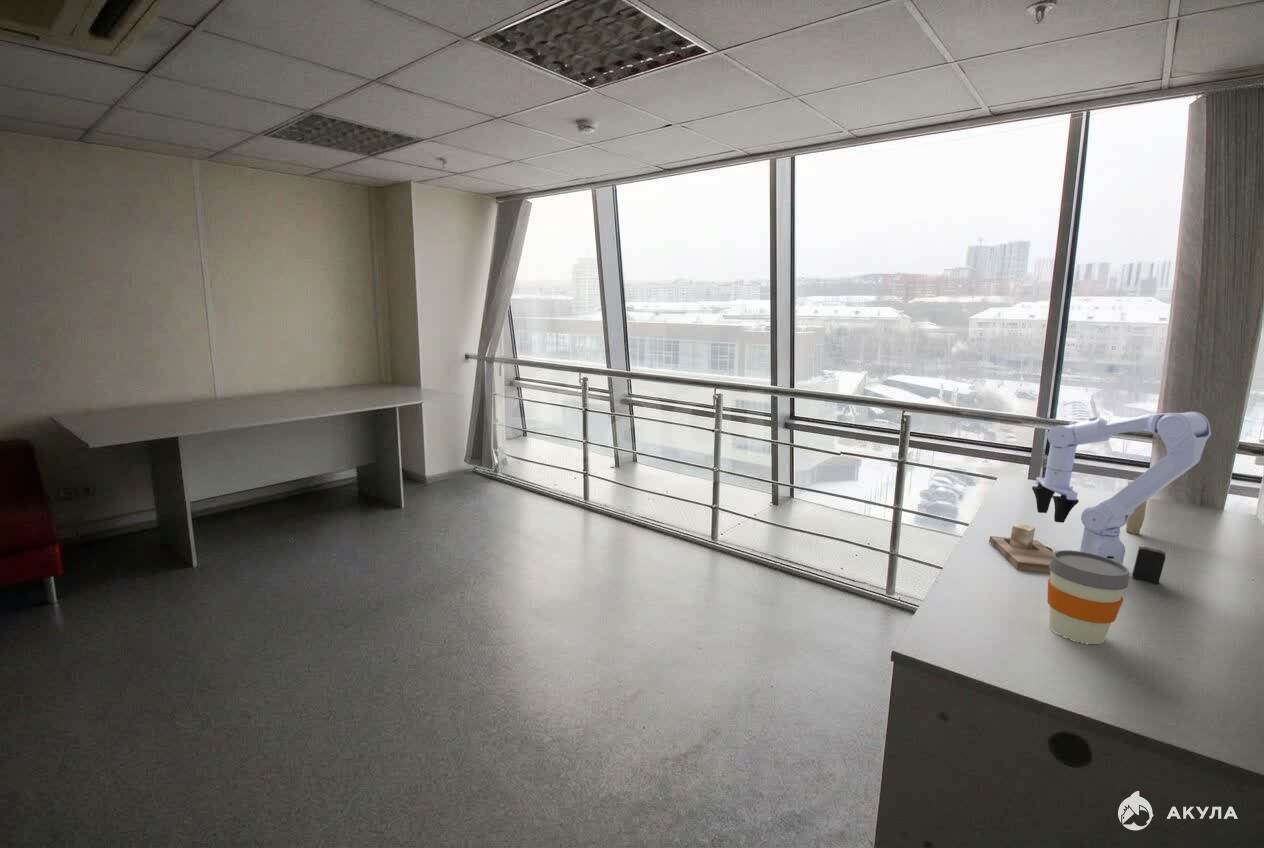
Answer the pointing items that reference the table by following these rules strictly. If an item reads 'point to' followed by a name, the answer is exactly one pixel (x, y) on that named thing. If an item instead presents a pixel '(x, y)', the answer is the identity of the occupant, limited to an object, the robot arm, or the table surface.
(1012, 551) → the slotted walnut block
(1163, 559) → the ink cartridge
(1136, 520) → the handle
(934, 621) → the table surface
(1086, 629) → the reusable coffee cup
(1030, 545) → the maple peg
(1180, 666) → the table surface
